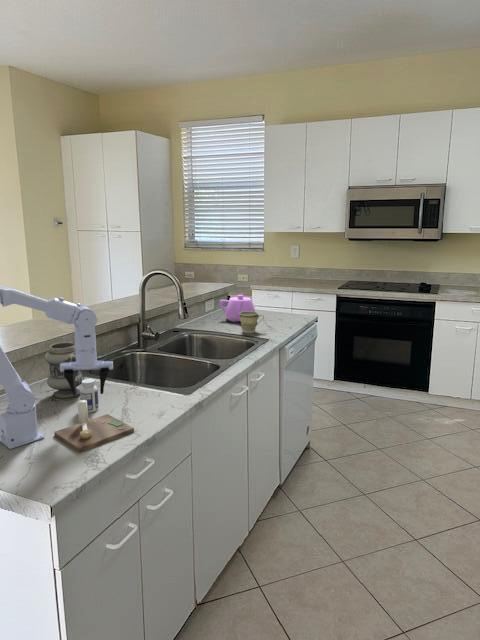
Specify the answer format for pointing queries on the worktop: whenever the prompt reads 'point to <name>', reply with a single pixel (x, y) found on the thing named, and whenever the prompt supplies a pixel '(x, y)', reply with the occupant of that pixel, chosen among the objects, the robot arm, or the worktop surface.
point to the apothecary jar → (56, 380)
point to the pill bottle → (89, 394)
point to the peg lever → (83, 419)
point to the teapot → (237, 307)
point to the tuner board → (94, 432)
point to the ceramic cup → (249, 321)
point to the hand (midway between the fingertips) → (88, 393)
